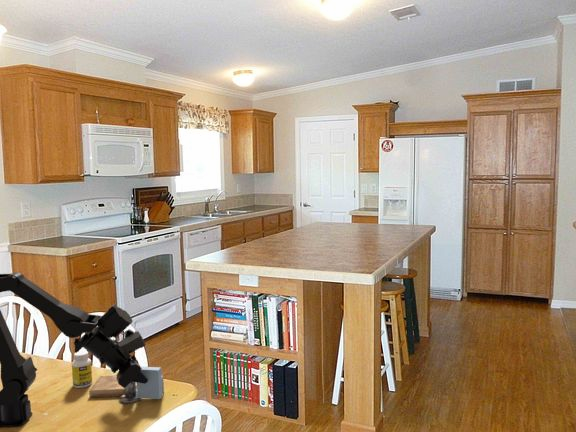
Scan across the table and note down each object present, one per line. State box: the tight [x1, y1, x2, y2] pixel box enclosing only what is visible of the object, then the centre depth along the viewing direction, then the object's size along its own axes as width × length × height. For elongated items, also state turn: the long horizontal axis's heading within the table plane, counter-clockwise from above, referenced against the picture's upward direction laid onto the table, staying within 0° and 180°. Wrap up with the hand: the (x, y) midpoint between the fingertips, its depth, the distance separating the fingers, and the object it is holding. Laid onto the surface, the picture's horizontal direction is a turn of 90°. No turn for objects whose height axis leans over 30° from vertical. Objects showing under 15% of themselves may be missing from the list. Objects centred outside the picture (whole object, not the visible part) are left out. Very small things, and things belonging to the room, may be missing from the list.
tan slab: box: [88, 374, 142, 404], centre depth 144 cm, size 15×15×7 cm
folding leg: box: [136, 366, 163, 400], centre depth 139 cm, size 9×2×8 cm, turn 81°
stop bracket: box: [162, 375, 165, 396], centre depth 142 cm, size 3×2×5 cm
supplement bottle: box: [71, 350, 93, 389], centre depth 150 cm, size 5×5×10 cm
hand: (146, 381), depth 137 cm, fingers closed
